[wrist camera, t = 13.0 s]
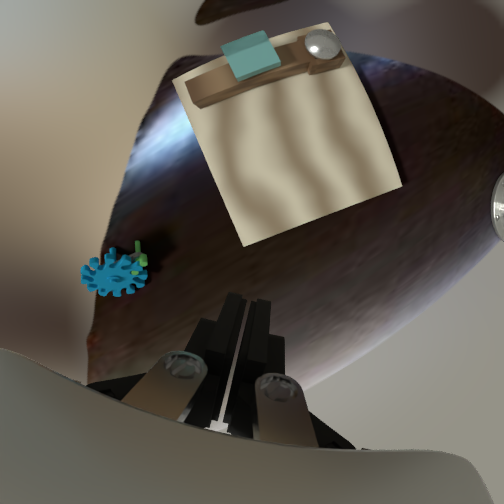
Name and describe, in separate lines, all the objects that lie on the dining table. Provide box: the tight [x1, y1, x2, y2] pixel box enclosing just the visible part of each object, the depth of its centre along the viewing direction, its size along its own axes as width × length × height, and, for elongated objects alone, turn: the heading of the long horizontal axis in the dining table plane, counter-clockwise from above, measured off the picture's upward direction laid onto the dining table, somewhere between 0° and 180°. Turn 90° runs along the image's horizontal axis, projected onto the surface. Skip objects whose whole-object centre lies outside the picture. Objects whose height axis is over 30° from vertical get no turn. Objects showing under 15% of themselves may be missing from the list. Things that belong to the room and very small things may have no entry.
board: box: [172, 23, 402, 247], centre depth 33 cm, size 22×24×2 cm
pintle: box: [305, 29, 341, 60], centre depth 27 cm, size 4×4×5 cm
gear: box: [81, 241, 148, 297], centre depth 38 cm, size 11×6×10 cm
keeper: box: [221, 30, 281, 82], centre depth 28 cm, size 5×4×6 cm
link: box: [185, 29, 346, 109], centre depth 29 cm, size 18×4×4 cm, turn 111°
